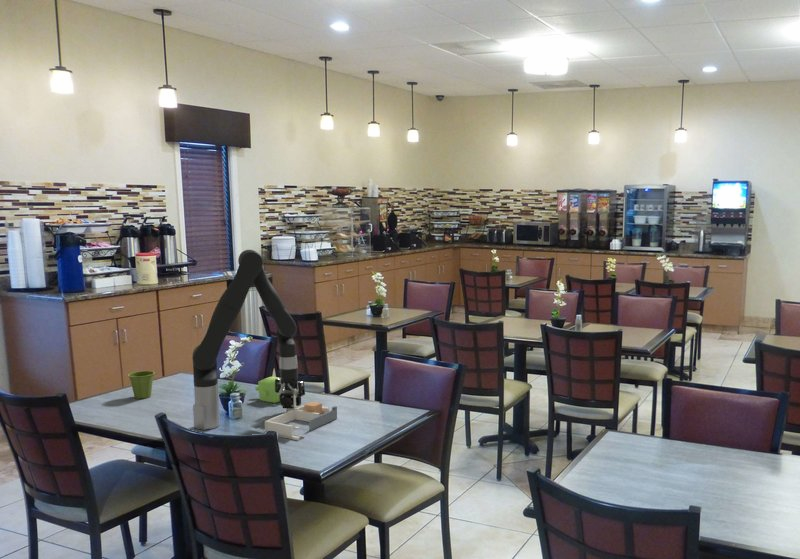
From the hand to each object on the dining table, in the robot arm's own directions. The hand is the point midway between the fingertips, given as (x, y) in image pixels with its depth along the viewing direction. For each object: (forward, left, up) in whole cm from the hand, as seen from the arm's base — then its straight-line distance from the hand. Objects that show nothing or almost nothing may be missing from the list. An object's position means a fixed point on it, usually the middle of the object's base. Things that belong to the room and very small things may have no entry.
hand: (290, 404), depth 287 cm
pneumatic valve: (0, 0, -5) cm, 5 cm away
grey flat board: (-5, -21, -4) cm, 22 cm away
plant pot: (-10, +81, -5) cm, 82 cm away
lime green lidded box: (+15, +24, -5) cm, 29 cm away
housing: (-9, -14, -5) cm, 17 cm away
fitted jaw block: (-1, -13, -4) cm, 13 cm away
